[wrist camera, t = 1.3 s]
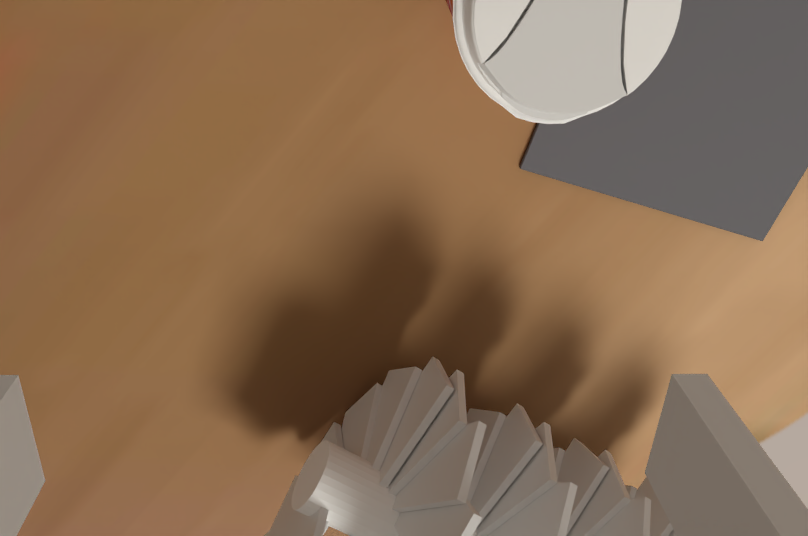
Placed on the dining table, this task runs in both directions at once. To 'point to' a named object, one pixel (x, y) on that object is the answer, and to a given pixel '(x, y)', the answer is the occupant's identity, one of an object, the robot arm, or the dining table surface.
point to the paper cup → (561, 51)
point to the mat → (701, 121)
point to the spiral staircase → (457, 472)
